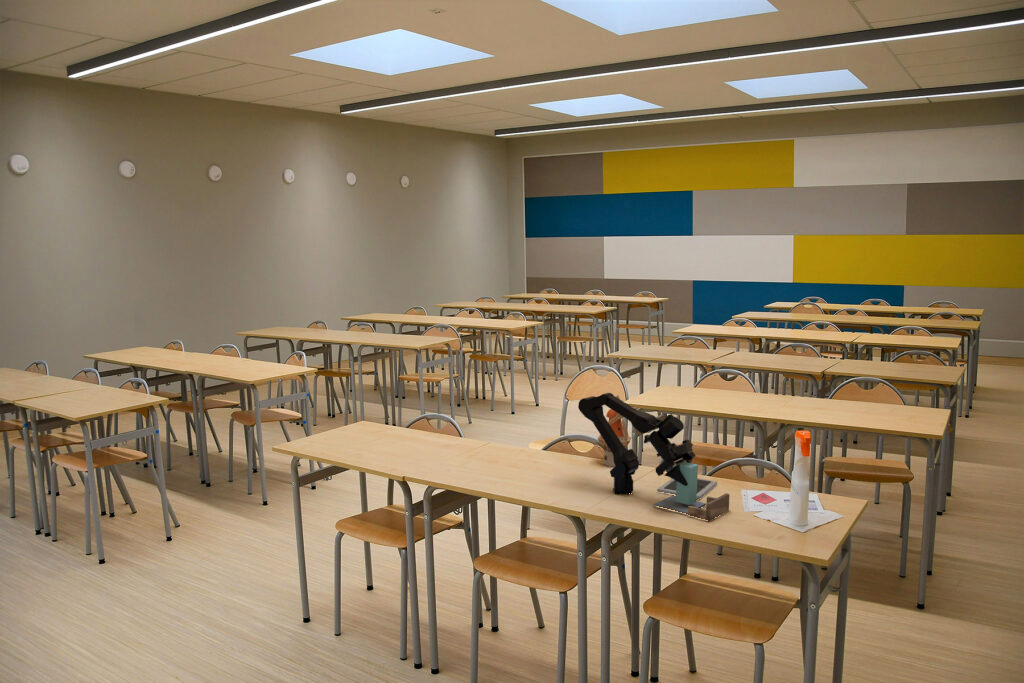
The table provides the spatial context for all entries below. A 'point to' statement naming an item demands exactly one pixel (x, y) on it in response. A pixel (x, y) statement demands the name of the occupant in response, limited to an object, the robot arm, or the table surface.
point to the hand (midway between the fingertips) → (690, 483)
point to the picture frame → (702, 487)
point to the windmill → (618, 429)
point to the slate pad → (677, 504)
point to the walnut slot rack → (711, 508)
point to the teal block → (690, 491)
